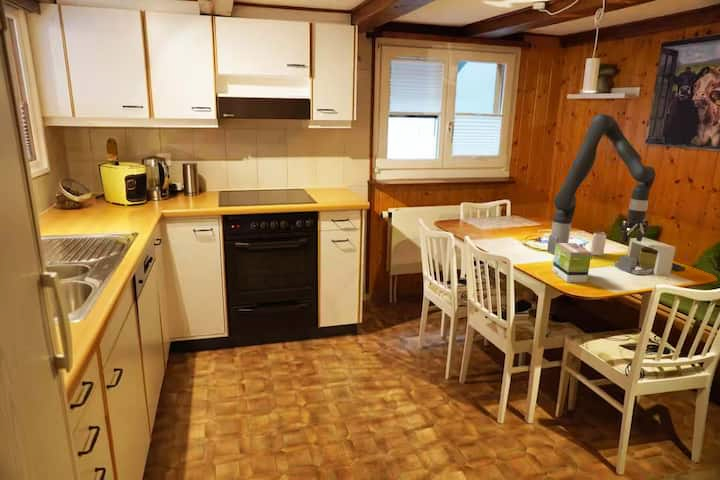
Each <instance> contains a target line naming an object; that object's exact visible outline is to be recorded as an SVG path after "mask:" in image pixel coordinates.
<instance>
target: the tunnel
mask: <svg viewBox="0 0 720 480" xmlns="http://www.w3.org/2000/svg"><path fill="white" fill-rule="evenodd" d="M636 239H637V237H633V238H632V237H631V238H630V239H629V242H628V243H629V244H628V250H627V254H626V255H629V256H632V257H635V258H637V260H639V258H640V251H641V248H645V247H647V248H648V249H651V250H657V251H658V254H657V259H656V263H655V268H654V273H652V274H653V275H654V276H662V275H670V274H671V272H672V271H671V267H672V263H674V256H675V253H676V246H673V245H671V244H666V243H663V242H660V241H658V240H655V239H650V238H647V237H643V236H642V240H641V241H637V240H636ZM645 249H646V248H645Z"/></svg>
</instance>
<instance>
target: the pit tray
mask: <svg viewBox="0 0 720 480" xmlns="http://www.w3.org/2000/svg"><path fill="white" fill-rule="evenodd" d="M672 265H673V266H672V271H675V272H684V271H685V269H686V267H685V266H683V265H680V264H678V263H674V262H672Z"/></svg>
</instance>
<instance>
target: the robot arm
mask: <svg viewBox="0 0 720 480" xmlns="http://www.w3.org/2000/svg"><path fill="white" fill-rule="evenodd" d="M603 135H604V136H605V137H607V139H608V140H609V141H610V142H611V143H612V145H613V147H614V149H615V151H616V153H617V155H618V156H619V158H620V159H621V161H622V162H623V163H624V164H625V166H627V170H628V172H629V173H630V175H631V177H632V178H633V179H634V180H635V181H636V183H637V184H636V185H635V186H634V187H633V189H632V192H631V196H630V197H631V198H630V202H629V206H628V212H627V218H628V220H627V221H626V220H622V222H621V227H620V231H619V232H620V234H623V236H622V243H629V234H630V233H631V232H633V231H635V230H636V231H637V234H636V238H637V239H636V240H637V241H641V240H642V237H643V236H644V234H645V233H647V232H648V228H649V222H650V221H649V220H647V219H646V217H647V211H648V207H649V206H648V205H649V198H650V192H651V189H652V188H653V187H652V186H653V185H654V182H655V179H656V170H655V168H654V167H652V166H649V165H646V166H645V165H644V164H643V163H642V156H641V155H640V154H639V152H638V151H637V150H636V149H635V147H634V146H633V144H631V142H629V140H628V139H627V138H626V136H625V135H624V133H623V131H622V130H621V127H620V126H619V124H618V123H617V120H616V119H615V118H614V117H613V116H612V115H610V114H604V113H599V114H597V115H595V116H594V117H593V118H592V119H591V122H590V123H589V125H588V129H587V132H586V134H585V137H584V140H583V142H582V144H581V145H580V147H579V150H578V152H577V154H576V156H575V157H574V160H573V161H572V164H571V167H570V168H569V171H568V173H567V174H566V178H565V180H564V182H563V184H562V186H561V187H560V189H559V190H558V193H557V194H556V196H555V197H554V200H553V204H554V207H555V208H556V210H555V213H554V215H553V218H552V227H551V231H550V234H549V235H548V242H547V249H546V252H547V253H550V254H552V255H554V254H555V247H556V243H570V242H569V241H570V236H571V228H572V221H573V219H574V216H575V211H576V205H577V196H576V192H577V191H578V189H579V187H580V186H581V185H582V183H584V181H585V180H586V179H587V178H588V177H587V176H588V175H589V174H590V172H591V170H592V168H593V166H594V164H595V162H596V159H597V151H598V146H599V143H600V142H601V139H602V137H603Z"/></svg>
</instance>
